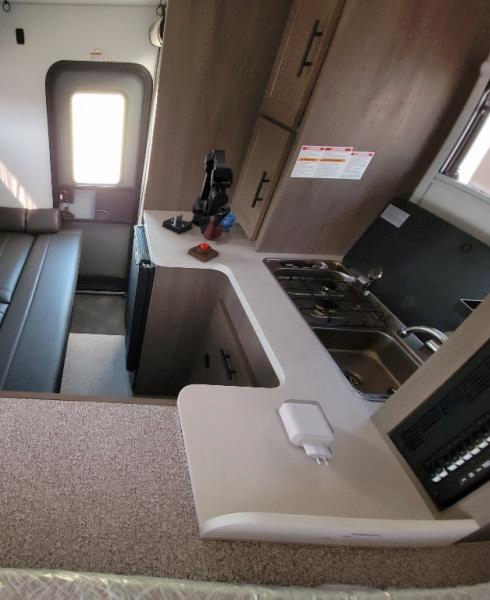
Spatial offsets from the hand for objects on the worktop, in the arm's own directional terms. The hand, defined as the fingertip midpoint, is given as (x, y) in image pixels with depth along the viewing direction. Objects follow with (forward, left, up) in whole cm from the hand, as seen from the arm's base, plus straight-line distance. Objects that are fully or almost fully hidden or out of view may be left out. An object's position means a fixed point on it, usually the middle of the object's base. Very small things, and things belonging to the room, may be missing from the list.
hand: (208, 231), depth 148 cm
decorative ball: (-16, -8, -12) cm, 22 cm away
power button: (0, 0, -8) cm, 8 cm away
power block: (0, 0, -12) cm, 12 cm away
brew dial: (-12, -27, -9) cm, 31 cm away
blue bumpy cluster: (-28, -9, -12) cm, 32 cm away
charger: (+54, +75, -12) cm, 93 cm away
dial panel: (-12, -27, -12) cm, 32 cm away
